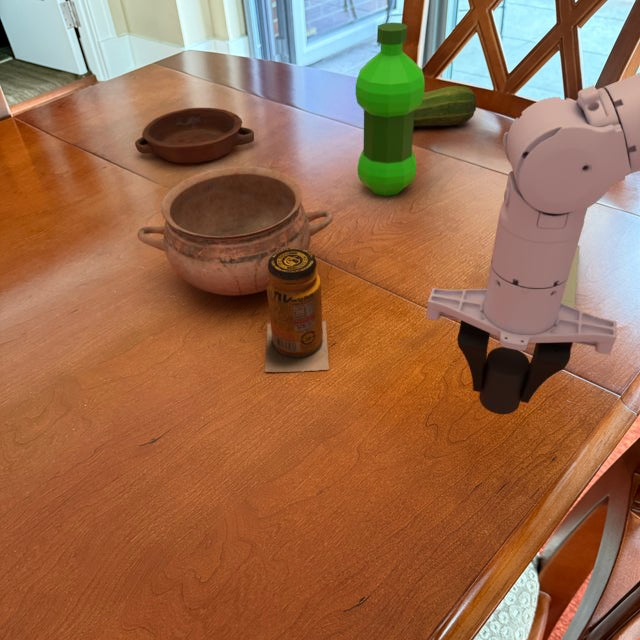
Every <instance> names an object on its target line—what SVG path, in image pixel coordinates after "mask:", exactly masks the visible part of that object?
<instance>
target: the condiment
mask: <svg viewBox="0 0 640 640" xmlns="http://www.w3.org/2000/svg"><path fill="white" fill-rule="evenodd" d="M268 270H269V272H268V276H269V278H268V280H267V289H266V295H267V302H268V313H269V321H270V323H269V322H268V323H266V342H265V343H266V346H265V359H264V360H265V363H264V373H271V372H272V373H285V372H286V373H294V372H301V373H304V372H309V371H313V372H314V371H317V372H318V371H329V370H330V365H329V349H328V348H329V347H328V334H327V333H328V332H327V320H323V304H322V283H321V277H320V276H319V274H318V269H317V260H316V257H315V255H314V254H313V253H312V252H311V251H309V250H308V251H307V250H304V249H300V248H286V249H283V250H280V251H278V252H276V253H274V254H273V255H272V256H271V258H270V259H269V261H268Z"/></svg>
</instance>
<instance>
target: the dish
mask: <svg viewBox="0 0 640 640" xmlns="http://www.w3.org/2000/svg"><path fill="white" fill-rule="evenodd" d="M242 125H243V120H242V118H241V117H240V116H239V115H238V114H236V113H235V112H232V111H229V110H227V109H222V108H217V107H216V108H215V107H190V108H189V107H188V108H184V109H178V110H175V111H171V112H167V113H165V114H162V115H160V116H158V117H156V118H154V119H152V121H151V120H150V122H149V123H148V124H147V125H146V126H145V127H144V128H143V130H142V133H141V137H139V138H138V139H136V140H135V143H134V145H135V148H136V150H137V151H138V152H139V153H141V154H145V155H147V154H149V155H157V156H159V157H161V158H162V159H163V160H165V161H168V162H172V163H178V164H194V163H196V164H197V163H202V162H207V161H212V160H216V159H219V158H222V157H224V156H225V155H227V154H229V153H231V152H232V151H233V150H234V149H235V148H236V147H238V146H244V145H248V144H251V143H253V142H254V141H255V132H254V130H253V129H251V128H249V127H243V126H242Z"/></svg>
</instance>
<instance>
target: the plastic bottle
mask: <svg viewBox="0 0 640 640" xmlns="http://www.w3.org/2000/svg"><path fill="white" fill-rule="evenodd" d="M376 36H377V37H376V38H377V39H376V42H377V43H379V44H380V51H379V52H378V53H377V54H376V55H374V56H373V57H372V58H371V59H370V60H368V61H367V63H365V64H364V65H363V66H362V68H360V70H359V73H358V75H357V78H356V82H355V98H356V103H357V104H358V106H360V107H361V109H362V110H363V149H362V151H361V153H360V155H359V158H358V163H357V177H358V178H359V180H360V181H361V182H362V184H363V185H365V186H366V187H367V188H369V189H370V191H372V192H373V193H374V194H376V195H379V196H384V197H388V196H395V195H397V194H398V193H400V192H402V190H403V189H405V188H406V187H408V186H410V185H411V184H412V183H413V182H414V180H415V178H416V177H417V158H416V155H415V152H414V150H413V137H414V127H413V124H414V110H415V109H417V108H418V107H419V106H420V105H421V104H422V100H423V97H424V93H425V85H426V84H425V76H424V72H423V69H422V68H421V67H420V66H419V65H418V64H417V63H416V62H415V61H414V60H413V59H412V58H411V57H410V56H408V55H407V53H405V52H404V51H403V45H404V44H405V43H407V40H408V39H407V38H408V37H407V36H408V25H407V24H406V23H403V22H383V23H381V24H378V25H377V34H376Z"/></svg>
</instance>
